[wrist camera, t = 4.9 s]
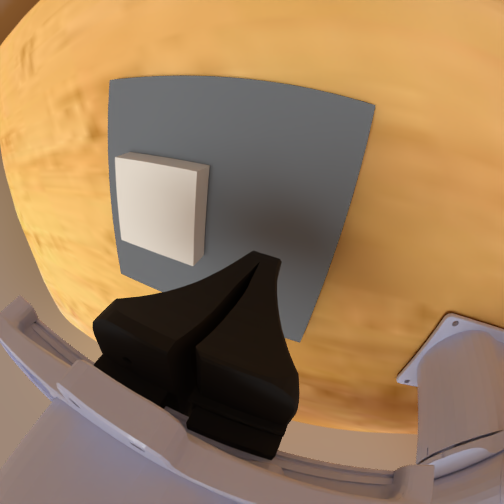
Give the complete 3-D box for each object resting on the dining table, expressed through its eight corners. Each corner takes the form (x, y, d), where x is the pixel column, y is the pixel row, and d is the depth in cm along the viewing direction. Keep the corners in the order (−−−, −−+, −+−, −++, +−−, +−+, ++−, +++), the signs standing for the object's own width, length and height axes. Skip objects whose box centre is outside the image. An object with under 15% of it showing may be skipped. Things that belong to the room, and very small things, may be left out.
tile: (197, 171, 13) (114, 157, 15) (193, 266, 17) (121, 239, 18) (210, 165, 15) (130, 151, 16) (204, 254, 18) (134, 230, 19)
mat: (374, 105, 11) (375, 105, 10) (302, 334, 20) (299, 342, 19) (118, 79, 14) (109, 80, 14) (126, 268, 23) (121, 273, 22)
